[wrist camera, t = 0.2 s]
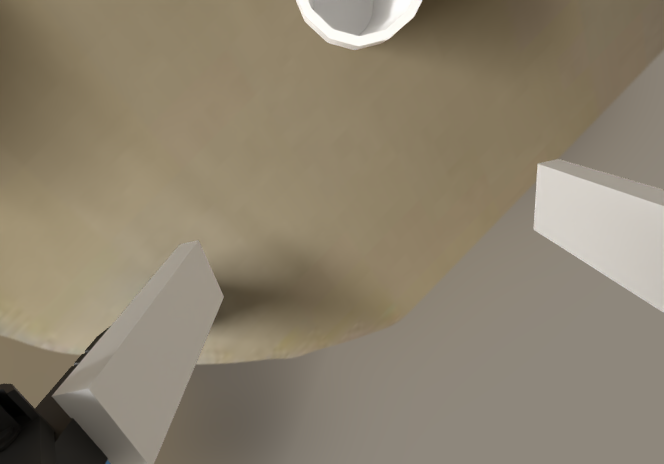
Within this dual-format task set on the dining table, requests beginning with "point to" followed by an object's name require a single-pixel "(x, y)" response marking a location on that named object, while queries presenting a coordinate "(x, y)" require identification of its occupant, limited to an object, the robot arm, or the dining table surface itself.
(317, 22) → the foam cup
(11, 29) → the dining table surface
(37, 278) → the dining table surface
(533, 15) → the dining table surface
